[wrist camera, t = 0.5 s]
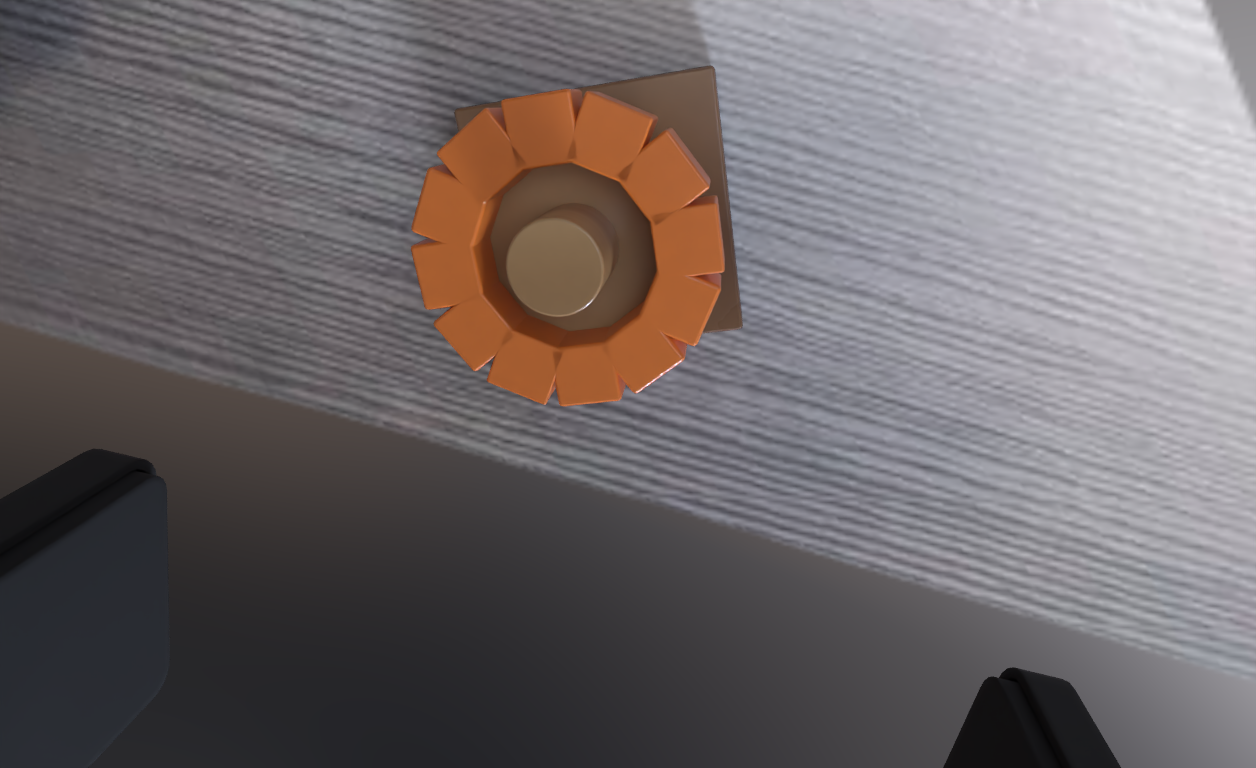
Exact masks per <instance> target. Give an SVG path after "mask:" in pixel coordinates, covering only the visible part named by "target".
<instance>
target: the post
mask: <svg viewBox="0 0 1256 768" xmlns="http://www.w3.org/2000/svg"><path fill="white" fill-rule="evenodd" d="M575 89H578V90H581V92H582V97H583V98H584V95H585V93H586V91H595V92H601V93H603V94H606V95H608V96H610V97H613V98H615V99H618V100H620V101H622V102H625V103H627V104H630V105H632V106H634V107H637V108H639V109H642V110H644V111H646V112H649V113H651V114H654V115H656V116H657V117H658V121H657V124H656V126H655V129H654V132H653V134H652V137H651V140H650V142H651V141H652V140H653V139H655V138H656V137H657V136H658V135H659V134H661V133H662V132H663V131H664V130H666V129H668V128H672V129H674V131H675V132H676V133H677V135H678V136H679V137H680V139H681V140H682V141H683V143H684V144H685V145H686V147H687V148H688V150H689V151H690V152H691V154H692V155H693V156H694V158H695V159H696V160H697V162H698V163H699V164H700V166H701V167H702V168H703V170H704V171H705V172H706V174H707V175H708V176H709V178H710V180H711V182H710V187H709V189H708V190H707V191H705V192H704V193H703V194H702V195H700V196H699V197H706V196H713V195H715V196H717V197H718V204H719V213H720V222H721V230H722V239H723V248H724V256H725V270H724V272H722V273H719V274H720V275H721V292H720V294H719V296H718V298H717V301H716V303H715V305H714V307H713V310H712V312H711V314H710V316H709V319H708V321H707V323H706V325H705V328H704V330H703V332H702V333H710V332H719V331H728V330H736V329H741V328H742V326H743V322H742V311H741V302H740V293H739V284H738V275H737V266H736V257H735V248H734V239H733V230H732V220H731V211H730V202H729V193H728V184H727V175H726V166H725V157H724V148H723V138H722V129H721V120H720V111H719V102H718V93H717V84H716V75H715V69H714V67H713V66H705V67H699V68H693V69H687V70H681V71H675V72H669V73H663V74H658V75H652V76H646V77H640V78H634V79H628V80H622V81H616V82H610V83H605V84H599V85H593V86H587V87H581V88H575ZM501 107H502V106H501V101H498V102H493V103H487V104H481V105H475V106H469V107H463V108H457V109H456V110H455V112H454V114H455V118H456V123H457V128H458V132H459V131H460V130H461V129H462V128H464V127H465V126H466V125H467V124H468V123H469V122H470V121H471V120H472V119H473V118H474V117H476V116H477V115H478V114H479V113H480V112H481V111H482V110H483V109H484V108H501ZM650 142H649V143H650ZM699 197H698V198H699ZM490 239H491V244H492V249H493V253H494V258H495V263H496V268H497V273H498V277H499V281H500V282H501V284H502V285H503V286H504V287H505V288H506V290H507V291H508V292H509V293H510V294H511V295H512V297H513V298H514V299H515V300H516V301H517V303H518V304H519V305H520V306H521V307H522V309H523V310H524V311H525V312H526V313H527V314H528V315H530V316H533V317H535V318H538V319H540V320H542V321H545V322H547V323H550V324H552V325H555V326H557V327H560V328H562V329H565V330H567V331H576V330H584V329H592V328H601V327H609V326H612V325H613V324H614V323H616V322H617V321H618V320H620V319H621V318H622V317H624V316H625V315H626V314H628V313H629V312H630V311H632V310H633V309H634V308H635V307H637V306H638V305H639V304H641V303H642V302H643V301H645V298H646V296H647V294H648V291H649V289H650V286H651V284H652V281H653V279H654V276H655V274H656V271H657V269H656V262H655V255H654V248H653V241H652V234H651V227H650V221H649V220H648V219H647V218H646V216H645V215H644V214H643V212H642V211H641V210H640V209H639V207H638V206H637V205H636V203H635V202H634V201H633V199H632V198H631V197H630V196H629V194H628V193H627V192H626V190H625V189H624V188H623V187H622V185H621V184H620V183H619V182H618V181H616V180H613V179H611V178H608V177H606V176H603V175H601V174H599V173H596V172H594V171H591V170H589V169H586V168H584V167H582V166H579V165H577V164H574V163H567V164H560V165H554V166H547V167H541V168H534V169H533V170H532V171H531V172H530V173H528V174H527V175H526V176H525V177H524V178H523V179H521V180H520V181H519V182H518V183H517V184H516V185H515V186H513V187H512V188H511V189H510V190H509V191H508V192H506V193H505V194H504V195H503V198H502V201H501V204H500V208H499V211H498V214H497V217H496V220H495V223H494V226H493V229H492V233H491V236H490Z"/></svg>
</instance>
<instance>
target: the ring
mask: <svg viewBox="0 0 1256 768" xmlns="http://www.w3.org/2000/svg"><path fill="white" fill-rule="evenodd" d="M501 106H502V107H501V108H484V109H483V110H482V111H481V112H480V113H479V114H478V115H477V116H476V117H474V118H473V119H472V120H471V121H470V122H469V123H468V124H467V125H466V126H465V127H464V128H462V129H461V130H460V131H459V132H458V133H457V134H456V135H455V136H454V137H453V138H452V139H451V140H449V141H448V142H447V143H446V144H445V145H444V146H443V147H442V148H441V149H440V150H439V151H438V152H437V155H438V157H439V158H440V159H441V160H442V161H443V163H444V164H443V165H439V166H434V167H430V168H429V169H428V170H427V173H426V177H425V180H424V184H423V187H422V191H421V194H420V198H419V202H418V205H417V209H416V212H415V216H414V219H413V223H412V226H411V227H412V231H413V232H415V233H417V234H420V235H422V236H425V237H427V238H428V239H425V240H423V241H421V242H419V243H417V244H415V245H413V246H411V252H412V256H413V260H414V264H415V268H416V272H417V277H418V281H419V285H420V289H421V293H422V297H423V301H424V306H425V308H426V309H429V310H431V309H438V308H446V307H451V308H450V309H449V310H447V311H446V312H445V313H444V314H443V315H441V316H440V317H439V318H438V319H437V320H435V322H434V326H435V327H436V328H437V329H438V331H439V332H440V333H441V334H442V335H443V336H444V337H445V339H446V340H447V341H448V342H449V343H450V344H451V346H452V347H453V348H454V349H455V350H456V351H457V352H458V354H459V355H460V356H461V357H462V358H463V359H464V360H465V362H466V363H467V364H468V365H469V366H470V367H471V369H472V370H474V371H478V370H479V369H480V368H481V367H483V366H484V365H485V364H487V363H488V362H489V361H490V360H492V359H493V358H494V360H493V363H492V366H491V369H490V372H489V375H488V378H487V381H488V382H489V383H492V384H494V385H497V386H499V387H502V388H504V389H507V390H509V391H512V392H514V393H517V394H519V395H521V396H524V397H526V398H529V399H531V400H534V401H536V402H539V403H541V404H544V405H545V404H546V403H547V401H548V400H549V398H550V396H551V395H552V393H553V391H554V390H555V388H556V390H557V395H558V400H559V404H560V406H571V405H580V404H590V403H600V402H609V401H618V400H620V399H621V398H622V395H623V392H624V389H625V386H626V384H627V386H628V387H629V388H630V389H631V391H632V392H634V393H639V392H640V391H642V390H643V389H644V388H646V387H647V386H649V385H650V384H651V383H653V382H654V381H656V380H657V379H658V378H660V377H661V376H663V375H664V374H665V373H667V372H668V371H670V370H671V369H672V368H674V367H675V366H677V365H678V364H679V363H681V362H682V361H683V360H684V359H685V354H686V348H687V344H689V345H691V346H695V345H696V344H698V341H699V339H700V337H701V335H702V332H703V330H704V328H705V325H706V323H707V321H708V319H709V316H710V314H711V312H712V310H713V307H714V305H715V303H716V301H717V298H718V296H719V294H720V292H721V275H720V274H719V273H722V272H724V270H725V256H724V248H723V239H722V230H721V222H720V213H719V204H718V197H717V196H715V195H713V196H706V197H699V196H700V195H702V194H703V193H704V192H705V191H707V190H708V189H709V187H710V182H711V180H710V178H709V176H708V175H707V174H706V172H705V171H704V170H703V168H702V167H701V166H700V164H699V163H698V162H697V160H696V159H695V158H694V156H693V155H692V154H691V152H690V151H689V150H688V148H687V147H686V145H685V144H684V143H683V141H682V140H681V139H680V137H679V136H678V135H677V133H676V132H675V131H674V129H672V128H668V129H666V130H664V131H663V132H662V133H661V134H659V135H658V136H657V137H656V138H655V139H653V140H652V141H651V142H650V140H651V137H652V134H653V132H654V129H655V126H656V124H657V121H658V117H657V116H656V115H654V114H651V113H649V112H646V111H644V110H642V109H639V108H637V107H634V106H632V105H630V104H627V103H625V102H622V101H620V100H618V99H615V98H613V97H610V96H608V95H606V94H603V93H601V92H595V91H586V93H585V95H584V98H583V97H582V92H581V90H578V89H561V90H555V91H550V92H544V93H538V94H532V95H526V96H520V97H514V98H508V99H503V100H502V101H501ZM649 142H650V143H649ZM567 163H574V164H577V165H579V166H582V167H584V168H586V169H589V170H591V171H594V172H596V173H599V174H601V175H603V176H606V177H608V178H611V179H613V180H616V181H618V182H619V183H620V184H621V185H622V187H623V188H624V189H625V190H626V192H627V193H628V194H629V196H630V197H631V198H632V199H633V201H634V202H635V203H636V205H637V206H638V207H639V209H640V210H641V211H642V212H643V214H644V215H645V216H646V218H647V219H648V220H649V221H650V227H651V234H652V241H653V248H654V255H655V262H656V269H657V271H656V274H655V276H654V279H653V281H652V284H651V286H650V289H649V291H648V294H647V296H646V298H645V301H643V302H642V303H641V304H639V305H638V306H637V307H635V308H634V309H633V310H632V311H630V312H629V313H628V314H626V315H625V316H624V317H622V318H621V319H620V320H618V321H617V322H616V323H614V324H613V325H612V326H609V327H601V328H592V329H584V330H576V331H567V330H565V329H562V328H560V327H557V326H555V325H552V324H550V323H547V322H545V321H542V320H540V319H538V318H535V317H533V316H530V315H528V314H527V313H526V312H525V311H524V310H523V309H522V307H521V306H520V305H519V304H518V303H517V301H516V300H515V299H514V298H513V297H512V295H511V294H510V293H509V292H508V291H507V290H506V288H505V287H504V286H503V285H502V284H501V282H500V281H499V277H498V273H497V268H496V263H495V258H494V253H493V249H492V244H491V239H490V236H491V233H492V229H493V226H494V223H495V220H496V217H497V214H498V211H499V208H500V204H501V201H502V198H503V195H504V194H505V193H506V192H508V191H509V190H510V189H511V188H512V187H513V186H515V185H516V184H517V183H518V182H519V181H520V180H521V179H523V178H524V177H525V176H526V175H527V174H528V173H530V172H531V171H532V170H533V169H534V168H541V167H547V166H554V165H560V164H567ZM698 197H699V198H698Z"/></svg>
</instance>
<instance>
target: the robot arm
mask: <svg viewBox="0 0 1256 768" xmlns="http://www.w3.org/2000/svg"><path fill="white" fill-rule="evenodd" d="M167 534H168V532H167V489H166V483H165V482H164V480H163V479H162V478H161V477H159V476H156V471H155V468H154V467H153V465H152V463H150V462H149V461H147V460H145V459H140V458H136V457H132V456H128V455H124V454H119V453H115V452H111V451H107V450H103V449H91V450H89V451H86V452H84V453H82V454H80V455H78V456H77V457H75V458H73V459H71V460H69V461H68V462H66V463H64V464H62V465H60V466H59V467H57V468H55V469H53V470H51V471H50V472H48V473H46V474H44V475H43V476H41V477H39V478H37V479H36V480H34V481H32V482H30V483H28V484H27V485H25V486H23V487H21V488H19V489H18V490H16V491H14V492H12V493H10V494H9V495H7V496H5V497H3V498H2V499H0V768H88V767H89V766H90V765H91V764H92V763H93V762H94V761H95V760H96V759H97V758H98V757H99V755H100V754H101V753H102V752H103V751H104V750H105V749H106V748H107V747H108V746H109V745H110V744H111V743H112V742H113V741H114V740H115V739H116V738H117V736H118V735H119V734H120V733H121V732H122V731H123V730H124V729H125V728H126V727H127V726H128V725H129V724H130V723H131V722H132V721H133V719H134V718H135V717H136V716H137V715H138V714H139V713H140V712H141V711H142V710H143V709H144V708H145V707H146V706H147V705H148V704H149V702H150V701H151V700H152V699H153V698H154V697H155V696H156V695H157V693H158V692H159V690H160V689H161V687H162V685H163V683H164V681H165V679H166V676H167V673H168V669H169V662H170V661H169V660H170V657H169V594H168V536H167ZM943 768H1121V767H1120V765H1119V763H1118V762H1117V760H1116V758H1115V757H1114V755H1113V753H1112V752H1111V750H1110V748H1109V747H1108V745H1107V743H1106V742H1105V740H1104V738H1103V736H1102V735H1101V733H1100V731H1099V729H1098V728H1097V726H1096V724H1095V723H1094V721H1093V719H1092V718H1091V716H1090V714H1089V712H1088V711H1087V709H1086V708H1085V706H1084V704H1083V702H1082V701H1081V699H1080V697H1079V696H1078V694H1077V692H1076V690H1075V689H1074V688H1073V687H1072V685H1071V684H1070V683H1069V682H1067V681H1065V680H1063V679H1060V678H1056V677H1051V676H1047V675H1043V674H1039V673H1035V672H1030V671H1026V670H1022V669H1018V668H1008V669H1006V670H1005V671H1004V672H1003V673H1002V674H1001V675H1000V677H999V678H997V677H988V678H987V679H986V680H985V681H984V682H983V684H982V686H981V687H980V690H979V692H978V694H977V696H976V698H975V700H974V702H973V705H972V707H971V709H970V711H969V713H968V715H967V718H966V720H965V722H964V724H963V726H962V728H961V731H960V733H959V735H958V737H957V739H956V741H955V744H954V746H953V748H952V750H951V752H950V754H949V757H948V759H947V761H946V763H945V765H944V767H943Z"/></svg>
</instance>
